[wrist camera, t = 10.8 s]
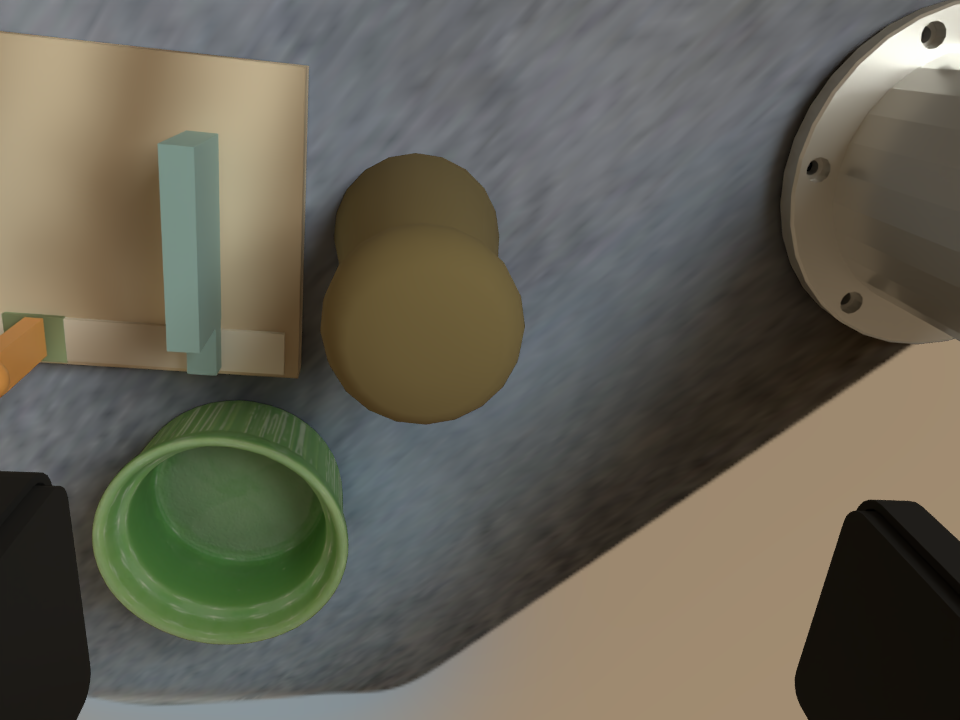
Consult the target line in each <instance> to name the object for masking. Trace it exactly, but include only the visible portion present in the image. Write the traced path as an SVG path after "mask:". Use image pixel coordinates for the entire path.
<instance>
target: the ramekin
mask: <svg viewBox="0 0 960 720" xmlns="http://www.w3.org/2000/svg"><path fill="white" fill-rule="evenodd" d="M92 545H93V552H94V556H95V560H96V563H97V566H98V569H99V572H100V574H101V576H102V577H103V579H104V581H105V583H106V585H107V586H108V588H109V589H110V591H111V592H112V593H113V594H114V596H115V597H116V598H117V599H118V600H119V601H120V602H121V603H122V604H123V605H124V606H125V607H126V608H127V609H128V610H129V611H131V612H132V613H133V614H134V615H136V616H137V617H139V618H140V619H142V620H143V621H145V622H146V623H148V624H150V625H152V626H153V627H155V628H157V629H160V630H162V631H164V632H166V633H169V634H171V635H175V636H177V637H180V638H184V639H187V640H191V641H197V642H202V643H208V644H244V643H252V642H257V641H262V640H265V639H269V638H273V637H276V636H279V635H282V634H284V633H286V632H288V631H290V630H292V629H295V628H296V627H298V626H300V625H301V624H303V623H304V622H306V621H307V620H309V619H310V618H311V617H313V616H314V615H315V614H316V613H317V612H318V611H319V610H321V609H322V607H323V606H324V605H325V604H326V603H327V602H328V601H329V599H330V598H331V597H332V595H333V594H334V592H335V591H336V589H337V587H338V585H339V583H340V581H341V579H342V576H343V573H344V570H345V567H346V563H347V557H348V533H347V526H346V522H345V518H344V514H343V493H342V482H341V477H340V473H339V469H338V466H337V463H336V461H335V459H334V456H333V454H332V453H331V451H330V449H329V448H328V446H327V444H326V443H325V442H324V440H323V439H322V438H321V437H320V436H319V435H318V434H317V432H316V431H315V430H314V429H312V428H311V427H310V426H309V425H308V424H306V423H305V422H303V421H302V420H300V419H299V418H297V417H296V416H294V415H292V414H291V413H288V412H286V411H284V410H282V409H279V408H276V407H273V406H270V405H266V404H261V403H257V402H251V401H241V400H237V401H221V402H215V403H209V404H206V405H203V406H199V407H196V408H194V409H191V410H189V411H187V412H185V413H183V414H181V415H179V416H178V417H176V418H174V419H173V420H171V421H170V422H169V423H168V424H167V425H165V426H164V427H163V428H162V429H161V430H160V431H159V432H158V433H157V434H156V435H155V436H154V438H153V439H152V440H151V441H150V442H149V443H148V444H147V446H146V447H145V448H144V449H143V451H142V452H141V453H140V454H139V455H138V456H136V457H135V458H133V459H132V460H131V461H130V462H129V463H128V464H126V465H125V466H124V467H123V468H122V469H121V470H120V472H119V473H118V474H117V475H116V476H115V477H114V479H113V480H112V481H111V482H110V484H109V485H108V487H107V489H106V490H105V492H104V494H103V496H102V498H101V500H100V502H99V504H98V507H97V510H96V513H95V517H94V522H93V528H92Z"/></svg>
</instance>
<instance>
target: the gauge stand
mask: <svg viewBox="0 0 960 720" xmlns="http://www.w3.org/2000/svg"><path fill="white" fill-rule="evenodd" d="M308 79H309V66H305V65H296V64H288V63H279V62H270V61H261V60H252V59H243V58H234V57H225V56H217V55H208V54H199V53H190V52H181V51H172V50H163V49H154V48H145V47H137V46H128V45H119V44H110V43H101V42H92V41H83V40H74V39H66V38H57V37H48V36H39V35H30V34H21V33H12V32H3V31H0V335H2V334H3V333H4V332H5V331H7V330H8V329H9V328H11V327H12V326H13V325H15V324H16V323H17V322H19V321H20V320H21V319H23V318H24V317H31V318H43V323H44V332H45V341H46V351H47V356H46V357H45V358H44V359H43V360H42V361H41V362H45V363H61V364H77V365H93V366H109V367H125V368H141V369H157V370H172V371H187V353H185V352H170V351H167V342H166V320H165V298H164V276H163V254H162V232H161V210H160V187H159V165H158V143H160V142H162V141H164V140H167V139H169V138H171V137H173V136H175V135H177V134H180V133H182V132H184V131H186V130H187V131H197V132H207V133H217V134H218V147H219V208H220V270H221V369H220V370H219V372H218V373H220V374H236V375H252V376H268V377H284V378H298V376H299V373H300V370H301V352H302V313H303V274H304V235H305V196H306V157H307V118H308Z"/></svg>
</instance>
